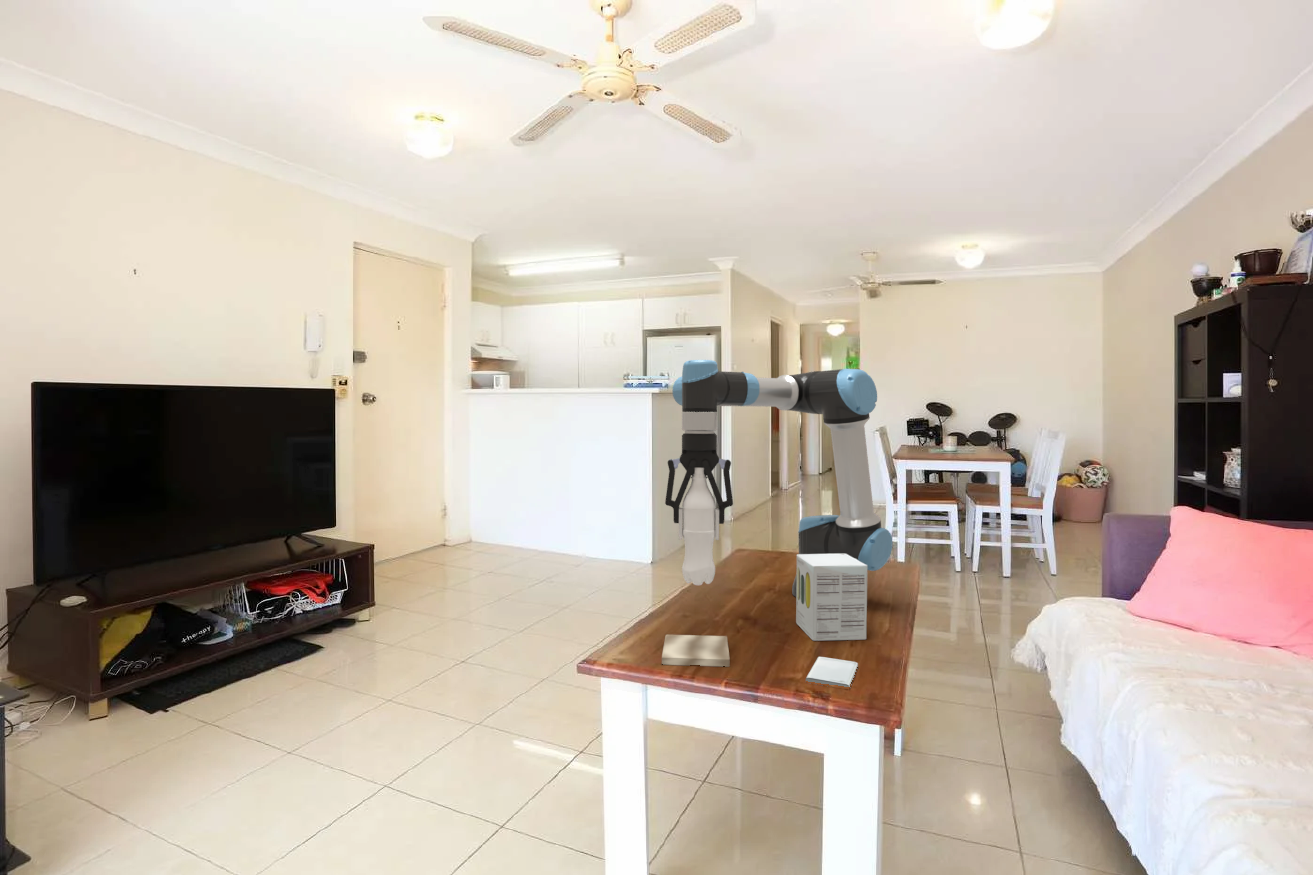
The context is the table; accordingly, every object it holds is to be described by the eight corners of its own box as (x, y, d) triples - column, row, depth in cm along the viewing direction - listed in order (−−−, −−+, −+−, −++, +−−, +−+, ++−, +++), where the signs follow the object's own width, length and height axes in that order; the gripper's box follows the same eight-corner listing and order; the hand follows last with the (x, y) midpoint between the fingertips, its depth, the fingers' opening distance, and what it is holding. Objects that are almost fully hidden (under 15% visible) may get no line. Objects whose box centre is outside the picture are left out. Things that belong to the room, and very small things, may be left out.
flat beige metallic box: (726, 642, 145) (727, 636, 145) (729, 666, 131) (729, 659, 131) (665, 641, 146) (665, 634, 146) (661, 664, 132) (661, 657, 132)
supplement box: (794, 623, 159) (795, 553, 159) (845, 621, 161) (846, 552, 160) (812, 641, 146) (813, 565, 146) (867, 640, 147) (868, 564, 147)
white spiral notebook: (849, 684, 120) (858, 661, 131) (805, 677, 124) (817, 655, 135) (849, 693, 120) (858, 669, 131) (805, 685, 124) (817, 663, 135)
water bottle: (692, 588, 133) (693, 469, 132) (676, 580, 140) (676, 466, 139) (721, 584, 137) (722, 467, 136) (703, 576, 143) (704, 465, 142)
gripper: (745, 432, 140) (744, 536, 141) (654, 431, 141) (653, 534, 142) (747, 433, 133) (746, 542, 133) (651, 432, 134) (651, 541, 135)
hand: (698, 538), depth 138 cm, fingers closed on water bottle, 7 cm apart
